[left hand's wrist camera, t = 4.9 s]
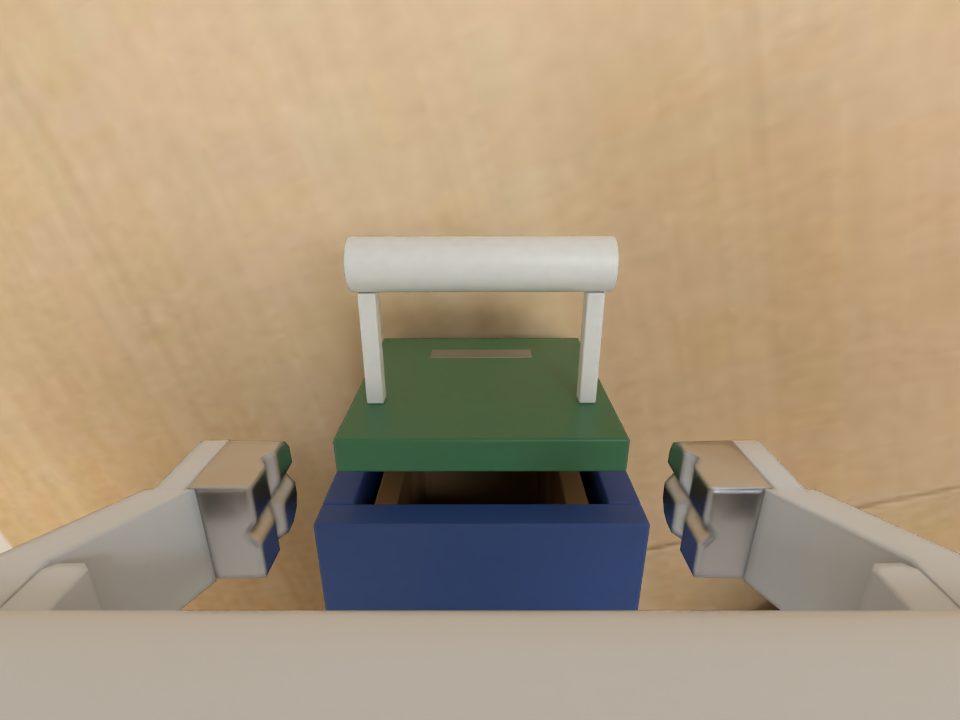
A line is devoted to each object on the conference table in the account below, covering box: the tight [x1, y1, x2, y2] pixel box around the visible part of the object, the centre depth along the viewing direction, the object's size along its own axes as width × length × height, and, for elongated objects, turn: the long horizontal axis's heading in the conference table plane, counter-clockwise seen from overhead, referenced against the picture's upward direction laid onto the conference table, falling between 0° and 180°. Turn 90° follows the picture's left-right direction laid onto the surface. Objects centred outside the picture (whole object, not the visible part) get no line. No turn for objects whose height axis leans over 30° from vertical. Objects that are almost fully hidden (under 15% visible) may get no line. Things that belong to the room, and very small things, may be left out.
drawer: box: [333, 236, 630, 505], centre depth 23 cm, size 25×9×10 cm, turn 0°
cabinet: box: [314, 471, 650, 610], centre depth 26 cm, size 20×10×12 cm, turn 0°
